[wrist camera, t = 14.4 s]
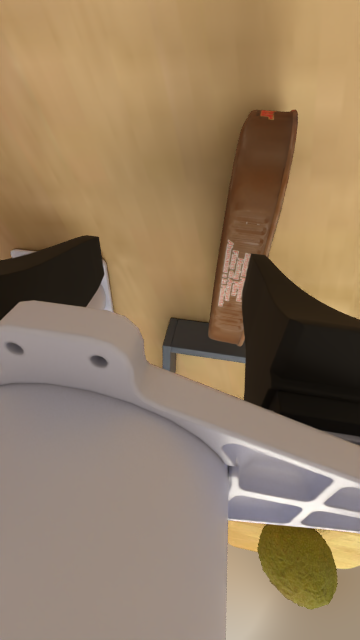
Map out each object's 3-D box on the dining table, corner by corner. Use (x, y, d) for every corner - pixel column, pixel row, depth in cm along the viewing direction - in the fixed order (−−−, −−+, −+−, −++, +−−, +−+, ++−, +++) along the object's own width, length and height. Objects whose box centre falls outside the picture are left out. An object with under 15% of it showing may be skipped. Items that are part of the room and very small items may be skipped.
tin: (243, 303, 26) (244, 372, 20) (210, 299, 27) (202, 365, 20) (291, 106, 17) (324, 116, 10) (239, 103, 17) (240, 111, 10)
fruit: (244, 521, 68) (243, 589, 54) (282, 487, 64) (291, 550, 50) (299, 565, 67) (313, 647, 52) (341, 532, 62) (368, 611, 48)
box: (168, 415, 42) (162, 442, 38) (170, 317, 29) (162, 345, 26) (258, 430, 40) (260, 459, 37) (302, 335, 28) (310, 367, 24)
